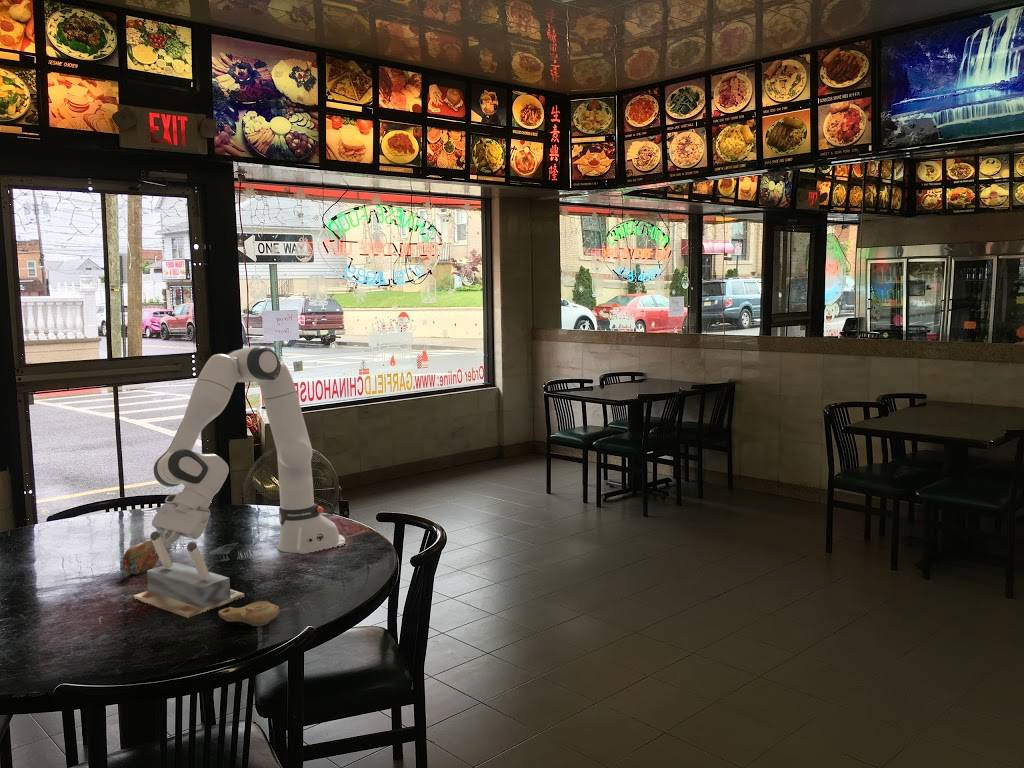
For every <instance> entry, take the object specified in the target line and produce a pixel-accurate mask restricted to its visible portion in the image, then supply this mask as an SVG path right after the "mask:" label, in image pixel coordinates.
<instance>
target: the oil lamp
mask: <svg viewBox="0 0 1024 768" xmlns="http://www.w3.org/2000/svg"><path fill="white" fill-rule="evenodd" d="M217 613H218V614H217V615H218V616H219V618H221V619H222V620H224V621H226V622H228V623H231V622H232V623H233V622H237V623H239V622H240V623H243V624H248V625H250V626H251V627H262V626H265V625H267V624H269V623H270V622H271V621H272V620H274V619H276V617H277V616H279V613H280V607H279V606H278V605H276V604H274V603H270V601H266V600H262V601H254V602H252V603H249V604H247V605H244V606H242V607H232V606H229V607H224V608H223V609H220V610H218V611H217Z"/></svg>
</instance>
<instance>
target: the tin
mask: <svg viewBox="0 0 1024 768" xmlns="http://www.w3.org/2000/svg"><path fill="white" fill-rule="evenodd" d="M159 559H160V558H159V556H158V554H157V551H156V549H155V547H154V545H153V542H152V540H151V539H150V540H144V541H141V542H139V543H138V544H136V545H133V546H132V547H130V548H128V549H127V550H126V551H125V552H124V555H123V557H122V563H123V569H124V571H125V573H127V574H129V575H139V574H138V573H140V572H141V573H143V572H145V571H147V570H150V568H153V567H155V565H156V564H157V563H158V561H159ZM142 571H143V572H142ZM141 573H140V574H141Z"/></svg>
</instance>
